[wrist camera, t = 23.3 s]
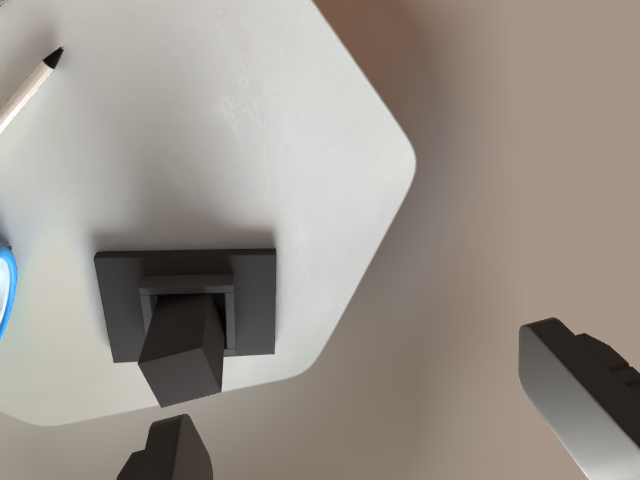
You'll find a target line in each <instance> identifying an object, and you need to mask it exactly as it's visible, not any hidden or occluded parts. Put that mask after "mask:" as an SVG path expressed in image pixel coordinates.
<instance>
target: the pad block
mask: <svg viewBox="0 0 640 480" xmlns="http://www.w3.org/2000/svg"><path fill="white" fill-rule="evenodd" d="M225 325H226V324H225V322H224V319H223V317H222V314H221V311H220V309H219V306H218V304H217V301H216V298H215V296H214V293H190V294H168V295H164V296H160V297H158V299H157V302H156V305H155V309H154V312H153V315H152V318H151V322H150V325H149V328H148V331H147V335H146V338H145V341H144V344H143V348H142V351H141V354H140V357H139V361H138V365H139V367H140V369H141V371H142V373H143V375H144V376H145V378H146V380H147V382H148V384H149V386H150V388H151V389H152V391H153V393H154V395H155V397H156V399H157V401H158V402H159V404H160V406H161V408H164V407H167V406H171V405H175V404H179V403H182V402H186V401H190V400H193V399H198V398H201V397H205V396H209V395H213V394H216V393H220V392H221V389H222V373H223V357H224V341H225Z"/></svg>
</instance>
